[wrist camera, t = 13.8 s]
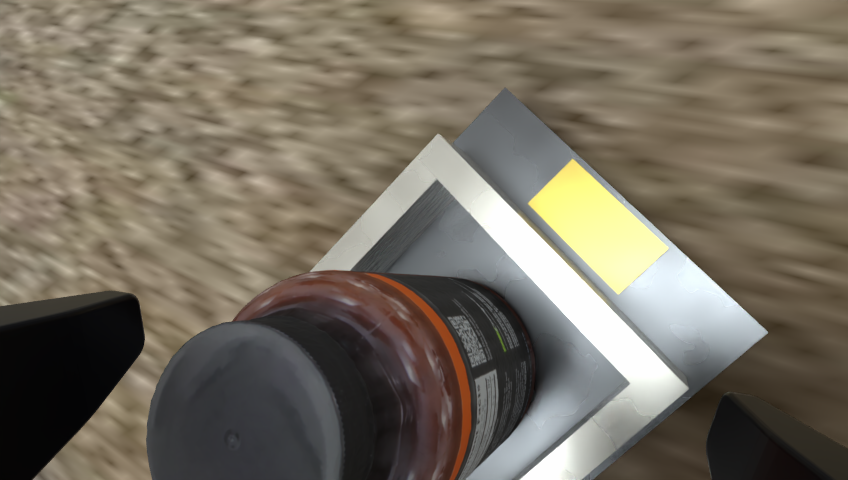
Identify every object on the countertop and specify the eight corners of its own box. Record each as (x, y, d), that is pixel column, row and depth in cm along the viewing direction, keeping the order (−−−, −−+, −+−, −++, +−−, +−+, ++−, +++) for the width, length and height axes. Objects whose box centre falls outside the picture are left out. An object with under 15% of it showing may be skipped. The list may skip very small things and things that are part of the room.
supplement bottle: (344, 387, 22) (50, 472, 11) (425, 244, 21) (189, 195, 11) (481, 494, 20) (273, 719, 9) (576, 339, 19) (466, 393, 9)
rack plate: (468, 573, 22) (421, 639, 18) (294, 339, 25) (221, 348, 21) (758, 328, 19) (784, 338, 15) (518, 104, 22) (484, 61, 18)
